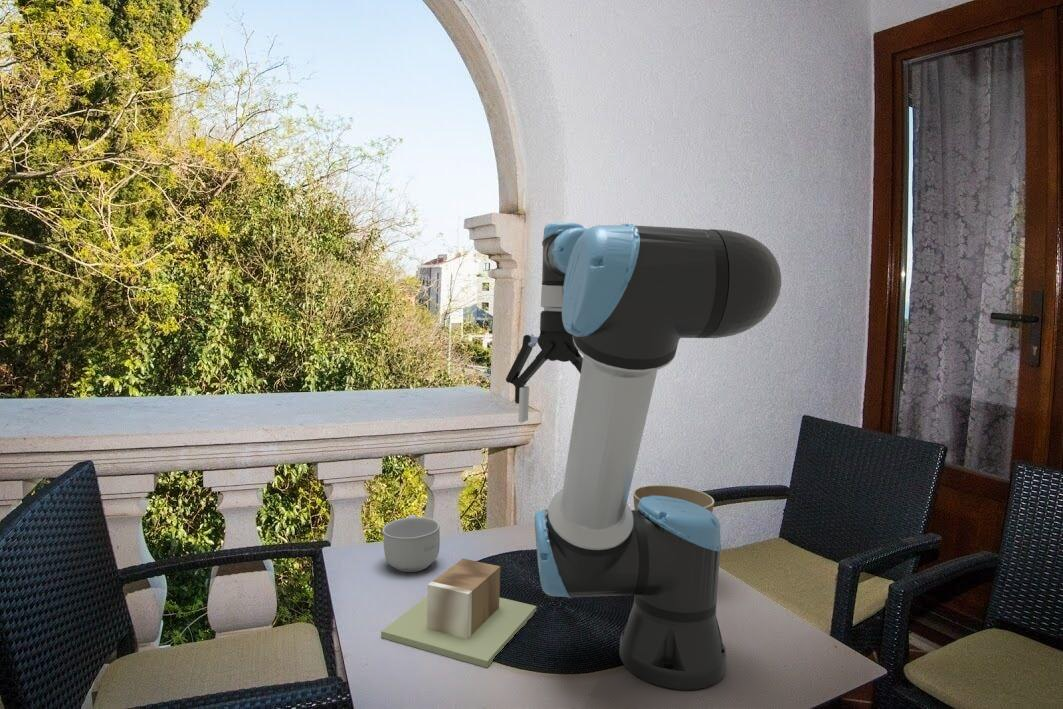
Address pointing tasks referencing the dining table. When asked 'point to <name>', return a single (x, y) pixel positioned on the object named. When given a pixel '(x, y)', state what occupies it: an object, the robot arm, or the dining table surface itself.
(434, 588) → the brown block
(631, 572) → the robot arm
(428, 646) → the olive mat
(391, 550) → the teacup
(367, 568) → the dining table surface
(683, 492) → the plant pot
